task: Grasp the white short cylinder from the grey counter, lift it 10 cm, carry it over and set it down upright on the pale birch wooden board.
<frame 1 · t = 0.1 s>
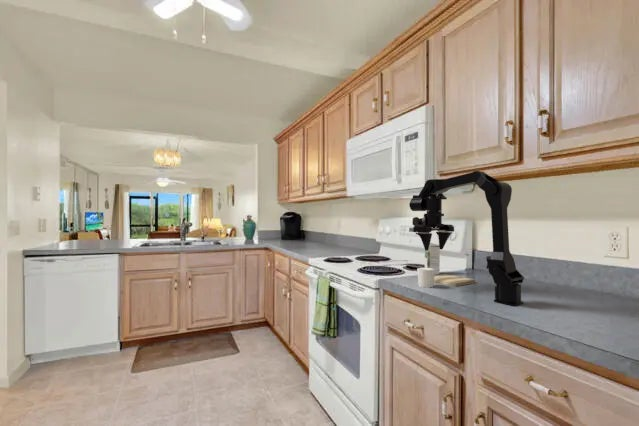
hand: (433, 249, 126), 14 cm above the worktop, fingers open, 9 cm apart
syrup box: (431, 273, 153), on the worktop
birch board: (450, 281, 135), on the worktop
white short cylinder: (426, 286, 126), on the worktop
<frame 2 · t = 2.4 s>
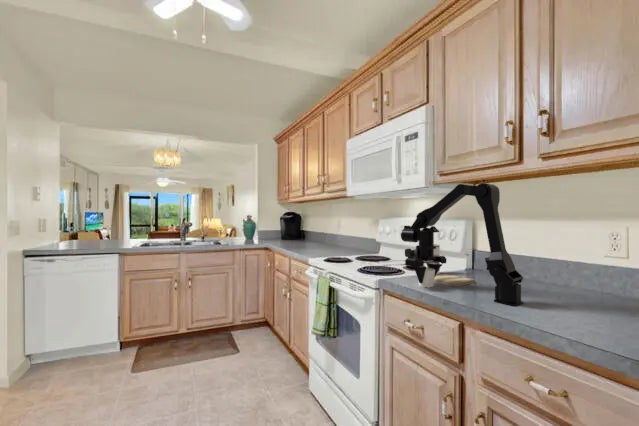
hand: (426, 282, 126), 2 cm above the worktop, fingers closed on white short cylinder, 6 cm apart
white short cylinder: (426, 286, 126), on the worktop, touching gripper
everything else where it was.
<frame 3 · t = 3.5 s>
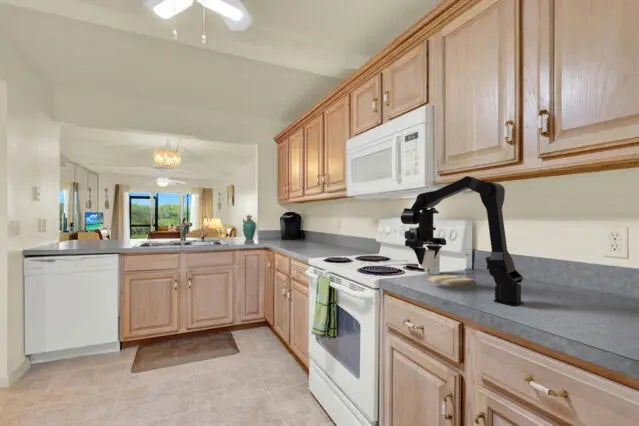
hand: (425, 263, 126), 9 cm above the worktop, fingers closed on white short cylinder, 6 cm apart
white short cylinder: (425, 268, 126), point 7 cm above the worktop, touching gripper
everything else where it was.
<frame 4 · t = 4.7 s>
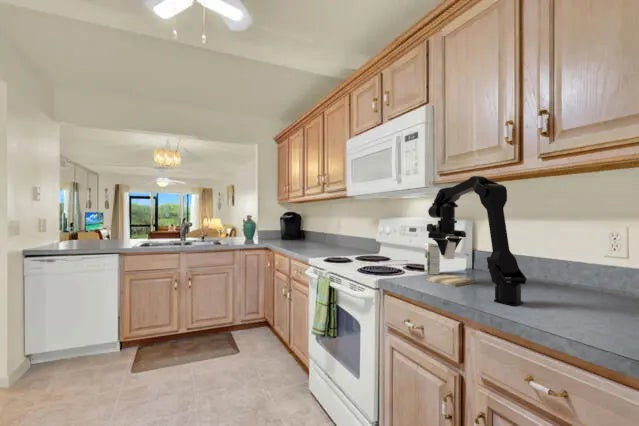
hand: (447, 254, 134), 12 cm above the worktop, fingers closed on white short cylinder, 6 cm apart
white short cylinder: (447, 258, 134), point 10 cm above the worktop, touching gripper
everything else where it was.
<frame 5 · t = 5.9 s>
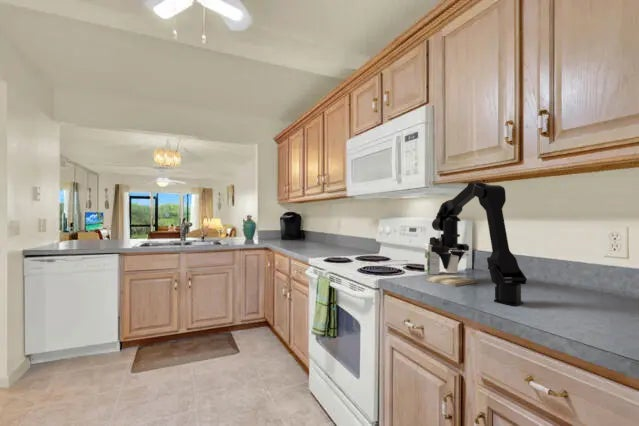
hand: (450, 268, 135), 6 cm above the worktop, fingers closed on white short cylinder, 6 cm apart
white short cylinder: (450, 272, 135), point 4 cm above the worktop, touching gripper
everything else where it was.
when the fingers open (4 cm above the worktop, at t = 7.1 s): white short cylinder drops 1 cm, resting on birch board.
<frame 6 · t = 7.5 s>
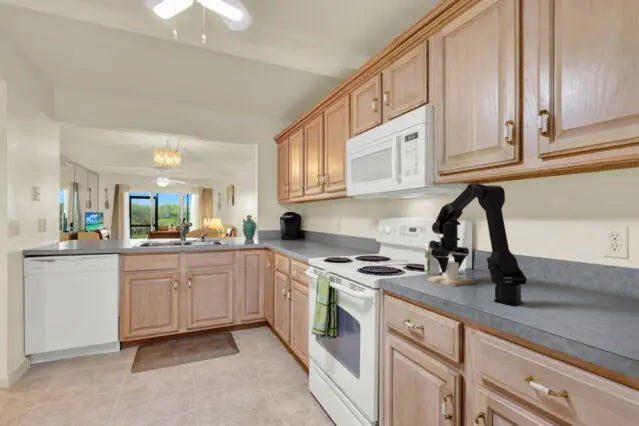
hand: (450, 271, 135), 4 cm above the worktop, fingers open, 9 cm apart
white short cylinder: (450, 279, 135), point 1 cm above the worktop, touching birch board
everything else where it was.
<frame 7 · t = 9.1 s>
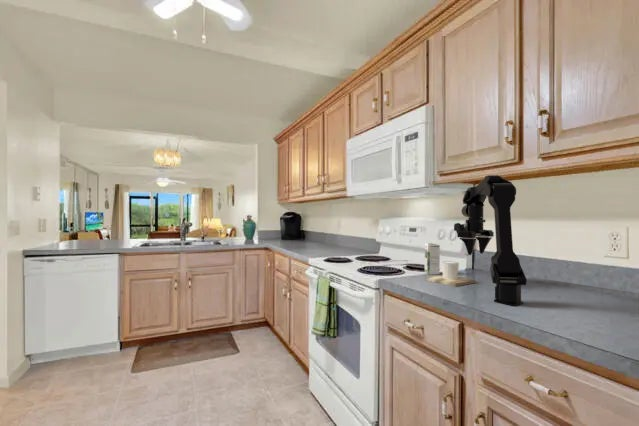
hand: (475, 254, 133), 12 cm above the worktop, fingers open, 9 cm apart
nothing on the worktop moved.
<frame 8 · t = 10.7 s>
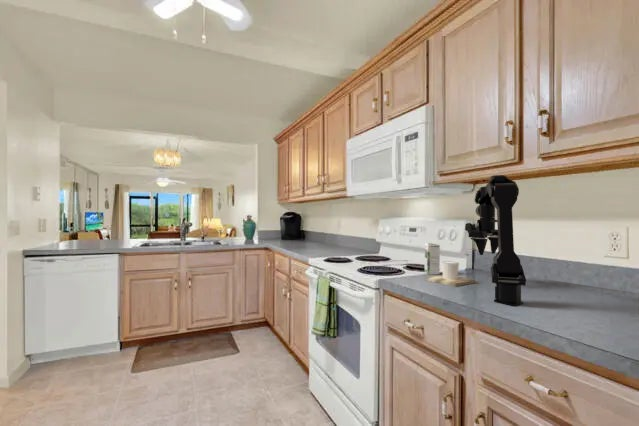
hand: (487, 254, 133), 12 cm above the worktop, fingers open, 9 cm apart
nothing on the worktop moved.
at the end: white short cylinder inside the target area on the birch board (0.0 cm from its centre), point 1.0 cm above the birch board's base; white short cylinder tilted 0°; the gripper is holding nothing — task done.
